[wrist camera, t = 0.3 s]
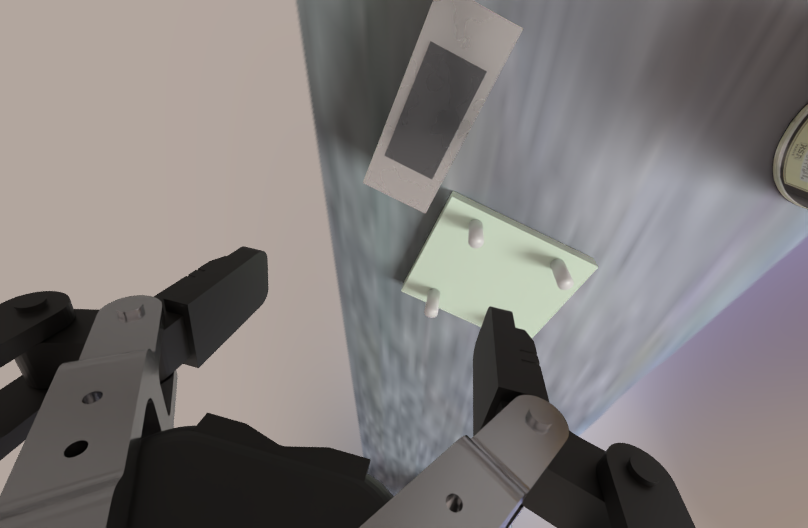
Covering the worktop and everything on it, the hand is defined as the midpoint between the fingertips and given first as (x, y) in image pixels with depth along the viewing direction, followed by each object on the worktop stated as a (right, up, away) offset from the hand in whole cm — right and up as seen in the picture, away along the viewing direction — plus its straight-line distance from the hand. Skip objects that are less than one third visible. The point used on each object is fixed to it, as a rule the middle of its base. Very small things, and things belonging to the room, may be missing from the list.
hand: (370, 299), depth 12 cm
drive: (+4, +13, +14) cm, 20 cm away
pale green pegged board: (+10, +1, +21) cm, 23 cm away
